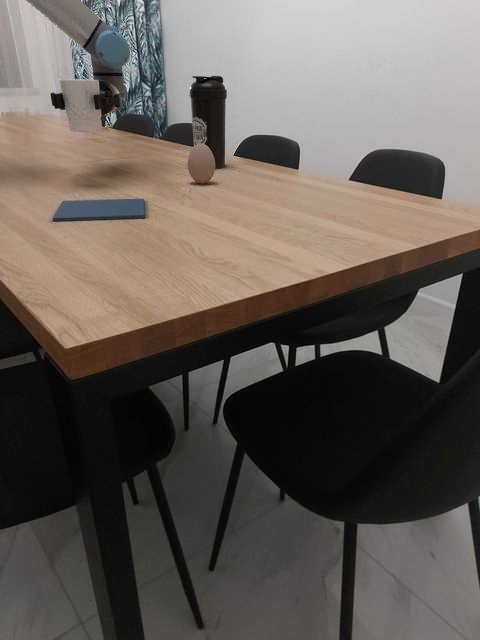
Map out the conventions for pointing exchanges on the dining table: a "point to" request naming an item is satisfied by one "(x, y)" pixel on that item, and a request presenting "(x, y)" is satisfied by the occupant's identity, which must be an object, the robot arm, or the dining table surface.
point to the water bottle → (209, 115)
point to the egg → (201, 163)
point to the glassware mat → (100, 209)
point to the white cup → (81, 104)
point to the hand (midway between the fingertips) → (75, 101)
